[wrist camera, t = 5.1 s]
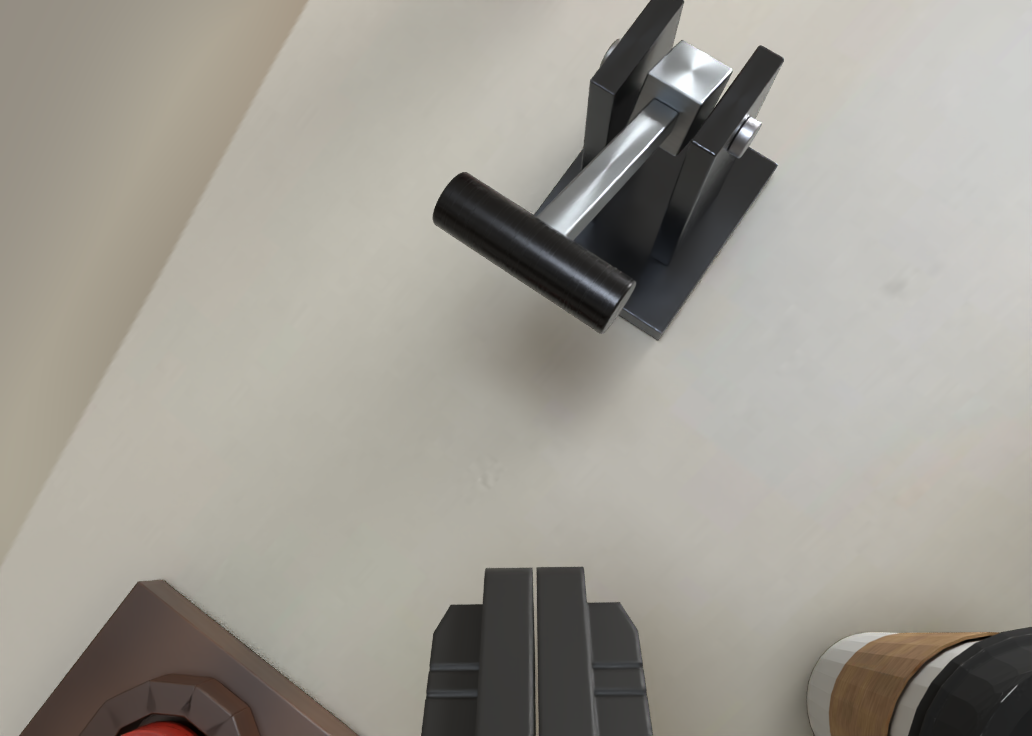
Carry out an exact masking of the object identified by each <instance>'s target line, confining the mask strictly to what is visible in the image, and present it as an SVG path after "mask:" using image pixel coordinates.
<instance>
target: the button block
mask: <svg viewBox="0 0 1032 736" xmlns="http://www.w3.org/2000/svg"><path fill="white" fill-rule="evenodd" d="M157 721H172V722H177V723H180V724H183V725H184V726H186V727H188V728H190V729H191V730H193V731H194V732H195V733H196V734H197V735H198V736H358V735H357V734H356V733H355V732H353V731H352V730H351V729H350V728H348V727H347V726H346V725H345V724H343V723H342V722H341V721H340V720H338V719H337V718H336V717H334V716H333V715H332V714H331V713H329V712H328V711H327V710H326V709H324V708H323V707H322V706H321V705H319V704H318V703H317V702H316V701H314V700H313V699H312V698H311V697H309V696H308V695H307V694H306V693H304V692H303V691H302V690H300V689H299V688H298V687H297V686H295V685H294V684H293V683H292V682H290V681H289V680H288V679H287V678H285V677H284V676H283V675H282V674H280V673H279V672H278V671H277V670H275V669H274V668H273V667H271V666H270V665H269V664H268V663H266V662H265V661H264V660H263V659H261V658H260V657H259V656H258V655H256V654H255V653H254V652H253V651H251V650H250V649H249V648H248V647H246V646H245V645H244V644H243V643H241V642H240V641H239V640H237V639H236V638H235V637H234V636H232V635H231V634H230V633H229V632H227V631H226V630H225V629H224V628H222V627H221V626H220V625H219V624H217V623H216V622H215V621H214V620H212V619H211V618H210V617H209V616H207V615H206V614H205V613H203V612H202V611H201V610H200V609H198V608H197V607H196V606H195V605H193V604H192V603H191V602H190V601H188V600H187V599H186V598H185V597H183V596H182V595H181V594H180V593H178V592H177V591H176V590H174V589H173V588H172V587H171V586H169V585H168V584H167V583H166V582H164V581H163V580H152V581H139V582H137V584H136V585H135V586H134V588H133V589H132V590H131V592H130V593H129V594H128V595H127V597H126V598H125V599H124V601H123V602H122V603H121V604H120V606H119V607H118V608H117V610H116V611H115V612H114V614H113V615H112V616H111V617H110V619H109V620H108V621H107V623H106V624H105V625H104V627H103V628H102V629H101V630H100V632H99V633H98V634H97V636H96V637H95V638H94V639H93V641H92V642H91V643H90V645H89V646H88V647H87V649H86V650H85V651H84V652H83V654H82V655H81V656H80V658H79V659H78V660H77V662H76V663H75V664H74V665H73V667H72V668H71V669H70V671H69V672H68V673H67V674H66V676H65V677H64V678H63V680H62V681H61V682H60V684H59V685H58V686H57V687H56V689H55V690H54V691H53V693H52V694H51V695H50V697H49V698H48V699H47V700H46V702H45V703H44V704H43V706H42V707H41V708H40V709H39V711H38V712H37V713H36V715H35V716H34V717H33V719H32V720H31V721H30V722H29V724H28V725H27V726H26V728H25V729H24V730H23V732H22V733H21V734H20V735H19V736H121V735H123V734H125V733H127V732H130V731H132V730H134V729H137V728H139V727H141V726H144V725H146V724H149V723H152V722H157Z"/></svg>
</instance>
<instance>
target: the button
mask: <svg viewBox="0 0 1032 736" xmlns="http://www.w3.org/2000/svg"><path fill="white" fill-rule="evenodd" d="M121 736H198V735H197V734H196V733H195V732H194V731H193V730H191V729H190V728H188V727H186V726H184V725H183V724H180V723H177V722H172V721H157V722H152V723H149V724H146V725H144V726H141V727H139V728H137V729H134V730H132V731H130V732H127V733H125V734H123V735H121Z"/></svg>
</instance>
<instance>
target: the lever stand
mask: <svg viewBox="0 0 1032 736" xmlns="http://www.w3.org/2000/svg"><path fill="white" fill-rule="evenodd" d="M683 4H684V0H651V1H650V2H649V3H648V4H647V6H646V7H645V8H644V10H643V11H642V12H641V14H640V15H639V16H638V18H637V19H636V20H635V22H634V23H633V24H632V26H631V27H630V28H629V30H628V31H627V32H626V34H625V35H624V36H623V38H622V39H617V40H616V41H615V42H614V43H613V44H612V45H611V46H610V48H609V49H608V51H607V52H606V54H605V56H604V58H603V60H602V62H601V65H600V68H599V69H598V71H597V72H596V73H595V75H594V76H593V77H592V79H591V80H590V87H589V97H588V107H587V117H586V127H585V137H584V147H583V150H582V151H581V152H580V154H579V155H578V156H577V158H576V159H575V160H574V162H573V163H572V164H571V166H570V167H569V169H568V170H567V171H566V173H565V174H564V175H563V177H562V178H561V179H560V181H559V182H558V183H557V185H556V186H555V187H554V189H553V190H552V191H551V193H550V194H549V195H548V197H547V198H546V199H545V201H544V202H543V204H542V205H541V206H540V208H539V209H538V210H537V212H536V213H535V214H534V216H536V217H537V216H538V215H539V214H540V213H541V212H542V211H543V210H544V209H545V208H546V207H547V206H548V205H549V204H550V203H551V202H552V201H553V200H554V199H555V198H556V196H557V195H558V194H559V193H560V192H561V191H562V190H563V189H564V188H565V187H566V186H567V185H568V184H569V183H570V182H571V181H572V180H573V179H574V178H575V177H576V176H577V175H578V174H579V173H580V172H581V171H582V170H583V169H584V168H585V167H586V166H587V165H588V164H589V163H590V162H591V161H592V160H593V159H594V158H595V157H596V156H597V155H598V154H599V153H600V152H601V151H602V150H603V149H604V148H605V147H606V146H607V145H608V144H609V143H610V142H611V141H612V140H613V139H614V138H615V137H616V136H617V135H618V134H619V133H620V132H621V131H622V130H623V129H624V128H625V127H626V124H627V121H628V119H629V116H630V114H631V111H632V109H633V107H634V104H635V102H636V99H637V97H638V95H639V92H640V90H641V87H642V85H643V83H644V80H645V78H646V75H647V73H648V72H649V71H650V70H651V69H652V68H653V67H654V66H655V65H656V64H657V63H658V62H659V61H660V60H661V59H662V58H663V57H664V56H665V55H666V54H668V53H669V52H670V51H671V50H672V47H673V43H674V39H675V35H676V31H677V27H678V24H679V20H680V16H681V12H682V8H683ZM783 62H784V58H783V57H781V56H779V55H777V54H776V53H774V52H772V51H770V50H769V49H767V48H765V47H763V46H762V45H760V46H758V48H757V49H756V50H755V52H754V53H753V55H752V56H751V57H750V59H749V60H748V62H747V63H746V64H745V66H744V67H743V69H742V70H741V71H740V73H739V74H738V76H737V77H736V78H735V80H734V81H733V83H732V84H731V85H730V87H729V88H728V90H727V91H726V92H725V94H724V95H723V97H722V98H721V99H720V101H719V102H718V104H717V105H716V106H715V108H714V109H713V111H712V112H711V113H710V115H709V116H708V118H707V119H706V120H705V122H704V123H703V125H702V126H701V127H700V129H699V130H698V132H697V133H696V134H695V136H694V137H693V138H692V139H691V140H690V142H689V143H688V144H687V145H686V146H685V147H684V148H683V150H682V151H681V152H680V153H679V154H678V155H677V156H673V155H672V154H670V153H668V152H667V151H665V150H663V149H662V148H660V147H658V148H657V149H656V150H655V151H654V152H653V153H652V155H651V156H650V157H649V158H648V159H647V160H646V161H645V162H644V163H643V164H642V166H641V167H640V168H639V169H638V170H637V171H636V172H635V173H634V174H633V175H632V177H631V178H630V179H629V180H628V181H627V182H626V183H625V184H624V185H623V186H622V188H621V189H620V190H619V191H618V192H617V193H616V194H615V195H614V196H613V197H612V199H611V200H610V201H609V202H608V203H607V204H606V205H605V206H604V207H603V208H602V210H601V211H600V212H599V213H598V214H597V215H596V216H595V217H594V218H593V219H592V221H591V222H590V223H589V224H588V225H587V226H586V227H585V228H584V229H583V230H582V231H581V233H580V234H579V235H578V236H577V237H576V238H575V239H574V240H573V241H575V242H576V243H578V244H579V245H581V246H582V247H584V248H586V249H587V250H589V251H590V252H592V253H593V254H595V255H596V256H598V257H600V258H601V259H603V260H604V261H606V262H607V263H609V264H610V265H612V266H614V267H615V268H617V269H618V270H620V271H621V272H623V273H624V274H626V275H628V276H629V277H631V278H632V279H634V280H635V281H636V286H635V288H634V290H633V292H632V294H631V296H630V297H629V299H628V301H627V302H626V304H625V306H624V307H623V309H622V310H621V312H620V313H619V315H620V316H621V317H623V318H624V319H626V320H627V321H629V322H630V323H632V324H633V325H635V326H637V327H638V328H640V329H641V330H643V331H644V332H646V333H647V334H649V335H650V336H652V337H653V338H655V339H656V340H659V339H660V337H661V336H662V334H663V333H664V332H665V330H666V329H667V327H668V326H669V324H670V323H671V321H672V320H673V318H674V317H675V316H676V314H677V313H678V311H679V310H680V308H681V307H682V305H683V304H684V302H685V301H686V300H687V298H688V297H689V295H690V294H691V292H692V291H693V289H694V288H695V286H696V285H697V284H698V282H699V281H700V279H701V278H702V276H703V275H704V273H705V272H706V270H707V269H708V268H709V266H710V265H711V263H712V262H713V260H714V259H715V257H716V256H717V254H718V253H719V252H720V250H721V249H722V247H723V246H724V244H725V243H726V241H727V240H728V238H729V237H730V236H731V234H732V233H733V231H734V230H735V228H736V227H737V225H738V224H739V222H740V221H741V220H742V218H743V217H744V215H745V214H746V212H747V211H748V209H749V208H750V206H751V205H752V204H753V202H754V201H755V199H756V198H757V196H758V195H759V193H760V192H761V190H762V189H763V187H764V186H765V185H766V183H767V182H768V180H769V179H770V177H771V176H772V174H773V173H774V171H775V169H776V168H777V166H778V164H776V163H775V162H773V161H771V160H770V159H768V158H766V157H765V156H763V155H761V154H760V153H758V152H756V151H755V150H753V149H751V148H750V147H749V145H750V144H751V142H752V141H753V139H754V137H755V136H756V134H757V132H758V131H759V129H760V127H761V125H762V123H761V122H760V121H758V120H756V117H757V115H758V113H759V111H760V109H761V106H762V104H763V102H764V100H765V98H766V96H767V94H768V92H769V90H770V88H771V86H772V84H773V82H774V80H775V78H776V76H777V74H778V72H779V70H780V68H781V66H782V64H783Z"/></svg>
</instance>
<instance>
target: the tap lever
mask: <svg viewBox="0 0 1032 736" xmlns="http://www.w3.org/2000/svg"><path fill="white" fill-rule="evenodd" d="M732 72H733V69H732V68H730V67H728V66H726V65H725V64H723V63H721V62H720V61H718V60H716V59H714V58H713V57H711V56H709V55H708V54H706V53H704V52H702V51H701V50H699V49H697V48H696V47H694V46H692V45H690V44H689V43H687V42H685V41H684V40H681V41H680V42H679V43H678V44H677V45H676V46H675V47H674V48H673V49H672V50H671V51H670V52H669V53H668V54H666V55H665V56H664V57H663V58H662V59H661V60H660V61H659V62H658V63H657V64H656V65H655V66H654V67H653V68H652V69H651V70H650V71H649V72H648V73H647V75H646V78H645V80H644V83H643V85H642V87H641V90H640V92H639V95H638V97H637V99H636V102H635V104H634V107H633V109H632V111H631V114H630V116H629V119H628V121H627V124H626V127H625V128H624V129H623V130H622V131H621V132H620V133H619V134H618V135H617V136H616V137H615V138H614V139H613V140H612V141H611V142H610V143H609V144H608V145H607V146H606V147H605V148H604V149H603V150H602V151H601V152H600V153H599V154H598V155H597V156H596V157H595V158H594V159H593V160H592V161H591V162H590V163H589V164H588V165H587V166H586V167H585V168H584V169H583V170H582V171H581V172H580V173H579V174H578V175H577V176H576V177H575V178H574V179H573V180H572V181H571V182H570V183H569V184H568V185H567V186H566V187H565V188H564V189H563V190H562V191H561V192H560V193H559V194H558V195H557V196H556V198H555V199H554V200H553V201H552V202H551V203H550V204H549V205H548V206H547V207H546V208H545V209H544V210H543V211H542V212H541V213H540V214H539V215H538V216H537V217H536V216H534V215H533V214H531V213H530V212H528V211H526V210H525V209H523V208H522V207H520V206H519V205H517V204H516V203H514V202H512V201H511V200H509V199H508V198H506V197H505V196H503V195H501V194H500V193H498V192H497V191H495V190H494V189H492V188H491V187H489V186H487V185H486V184H484V183H483V182H481V181H480V180H478V179H477V178H475V177H473V176H472V175H470V174H469V173H467V172H462V173H460V174H458V175H457V176H456V177H454V178H453V179H452V180H451V182H450V183H449V184H448V185H447V186H446V188H445V189H444V191H443V192H442V194H441V195H440V197H439V199H438V201H437V204H436V206H435V209H434V212H433V222H434V224H435V225H436V226H438V227H439V228H441V229H442V230H444V231H445V232H447V233H448V234H450V235H451V236H453V237H454V238H456V239H457V240H459V241H460V242H462V243H463V244H465V245H466V246H468V247H470V248H471V249H473V250H474V251H476V252H477V253H479V254H480V255H482V256H483V257H485V258H486V259H488V260H489V261H491V262H492V263H494V264H495V265H497V266H498V267H500V268H501V269H503V270H504V271H506V272H507V273H509V274H510V275H512V276H514V277H515V278H517V279H518V280H520V281H521V282H523V283H524V284H526V285H527V286H529V287H530V288H532V289H533V290H535V291H536V292H538V293H539V294H541V295H542V296H544V297H545V298H547V299H548V300H550V301H551V302H553V303H554V304H556V305H557V306H559V307H561V308H562V309H564V310H565V311H567V312H568V313H570V314H571V315H573V316H574V317H576V318H577V319H579V320H580V321H582V322H583V323H585V324H586V325H588V326H589V327H591V328H592V329H594V330H595V331H597V332H598V333H600V334H603V333H604V332H605V331H606V330H607V329H608V328H609V327H610V326H611V324H612V323H613V322H614V320H615V319H616V317H617V316H618V315H619V313H620V312H621V310H622V309H623V307H624V306H625V304H626V302H627V301H628V299H629V297H630V296H631V294H632V292H633V290H634V288H635V286H636V281H635V280H634V279H632V278H631V277H629V276H628V275H626V274H624V273H623V272H621V271H620V270H618V269H617V268H615V267H614V266H612V265H610V264H609V263H607V262H606V261H604V260H603V259H601V258H600V257H598V256H596V255H595V254H593V253H592V252H590V251H589V250H587V249H586V248H584V247H582V246H581V245H579V244H578V243H576V242H575V241H573V240H574V239H575V238H576V237H577V236H578V235H579V234H580V233H581V231H582V230H583V229H584V228H585V227H586V226H587V225H588V224H589V223H590V222H591V221H592V219H593V218H594V217H595V216H596V215H597V214H598V213H599V212H600V211H601V210H602V208H603V207H604V206H605V205H606V204H607V203H608V202H609V201H610V200H611V199H612V197H613V196H614V195H615V194H616V193H617V192H618V191H619V190H620V189H621V188H622V186H623V185H624V184H625V183H626V182H627V181H628V180H629V179H630V178H631V177H632V175H633V174H634V173H635V172H636V171H637V170H638V169H639V168H640V167H641V166H642V164H643V163H644V162H645V161H646V160H647V159H648V158H649V157H650V156H651V155H652V153H653V152H654V151H655V150H656V149H657V148H658V147H660V148H662V149H663V150H665V151H667V152H668V153H670V154H672V155H673V156H677V155H678V154H679V153H680V152H681V151H682V150H683V148H684V147H685V146H686V145H687V144H688V143H689V142H690V140H691V139H692V138H693V137H694V136H695V134H696V133H697V132H698V130H699V129H700V127H701V126H702V125H703V123H704V122H705V120H706V119H707V118H708V116H709V115H710V113H711V112H712V111H713V109H714V107H715V105H716V103H717V101H718V99H719V97H720V95H721V93H722V92H723V90H724V88H725V86H726V84H727V82H728V80H729V78H730V76H731V74H732Z"/></svg>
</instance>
